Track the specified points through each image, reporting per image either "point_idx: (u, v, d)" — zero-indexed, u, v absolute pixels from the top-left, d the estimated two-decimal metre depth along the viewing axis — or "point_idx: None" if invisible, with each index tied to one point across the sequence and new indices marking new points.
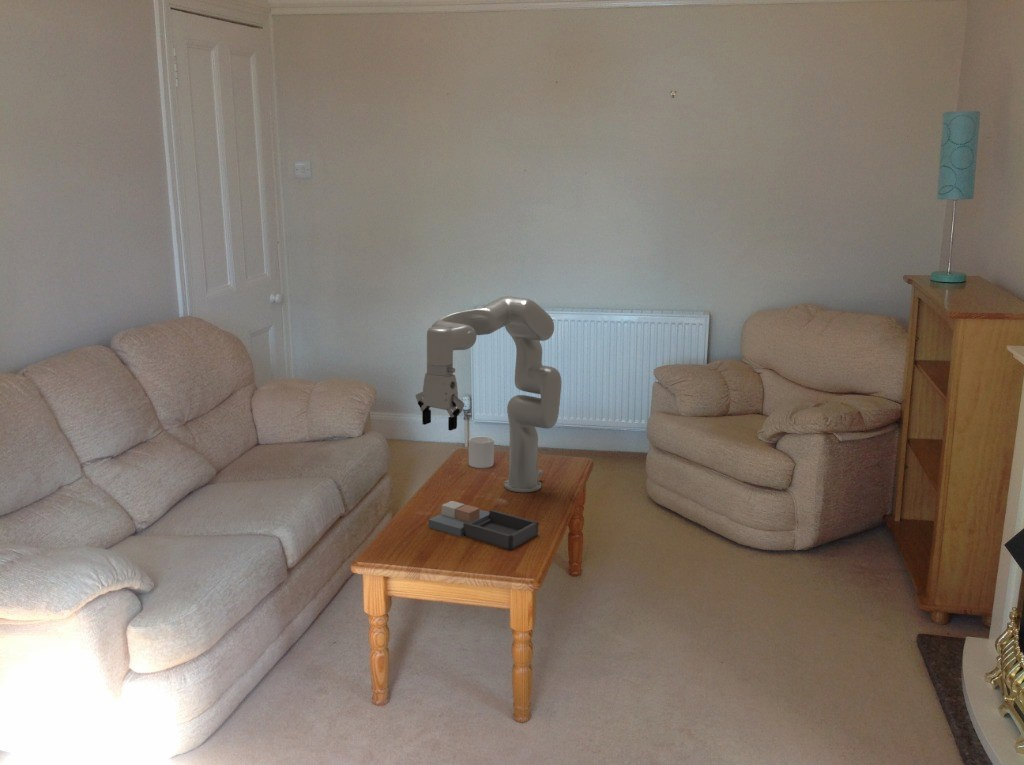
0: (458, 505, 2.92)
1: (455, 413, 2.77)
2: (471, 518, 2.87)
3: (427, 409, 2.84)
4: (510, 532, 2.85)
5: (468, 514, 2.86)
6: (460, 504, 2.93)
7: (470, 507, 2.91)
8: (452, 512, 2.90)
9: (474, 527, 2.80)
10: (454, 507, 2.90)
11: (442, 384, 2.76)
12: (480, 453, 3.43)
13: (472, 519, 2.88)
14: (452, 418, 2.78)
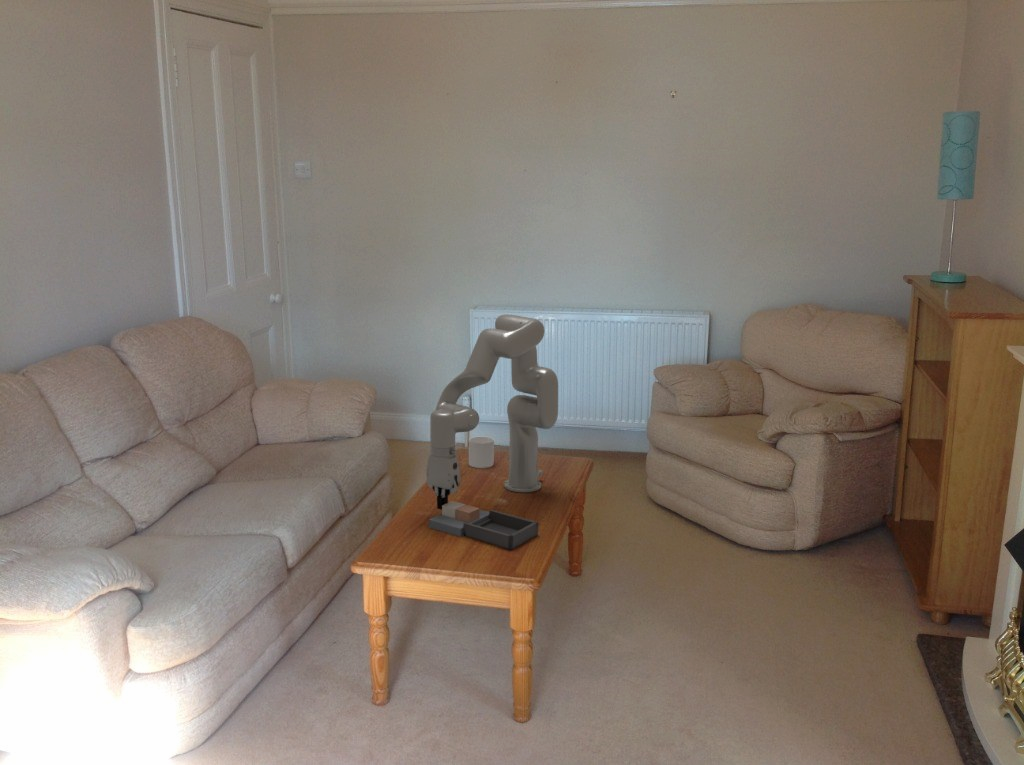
0: (459, 505, 2.92)
1: (446, 494, 2.92)
2: (471, 518, 2.87)
3: None
4: (510, 532, 2.85)
5: (468, 514, 2.86)
6: (461, 504, 2.92)
7: (470, 507, 2.91)
8: (453, 513, 2.89)
9: (474, 527, 2.80)
10: (455, 507, 2.90)
11: (445, 465, 2.88)
12: (480, 453, 3.43)
13: (472, 519, 2.88)
14: (443, 498, 2.93)
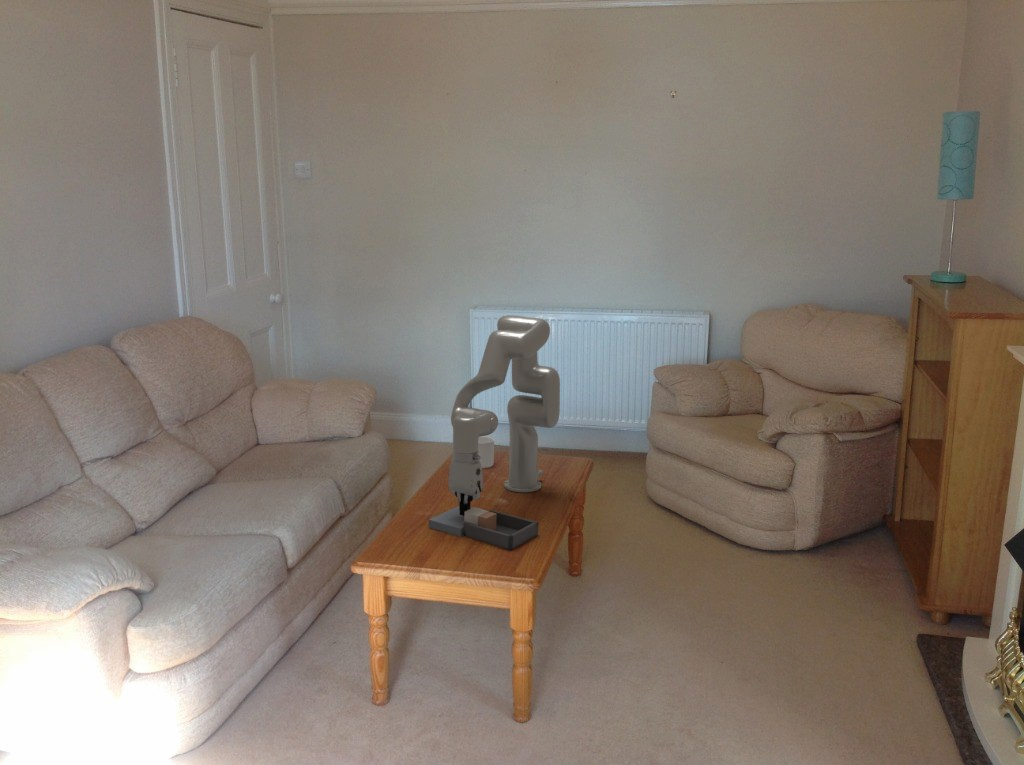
0: (481, 512, 2.87)
1: (469, 500, 2.87)
2: None
3: (464, 500, 2.90)
4: (510, 532, 2.85)
5: None
6: (483, 511, 2.88)
7: (494, 521, 2.86)
8: (475, 519, 2.85)
9: (474, 527, 2.80)
10: (477, 514, 2.85)
11: (468, 471, 2.83)
12: (480, 453, 3.43)
13: None
14: (466, 504, 2.88)
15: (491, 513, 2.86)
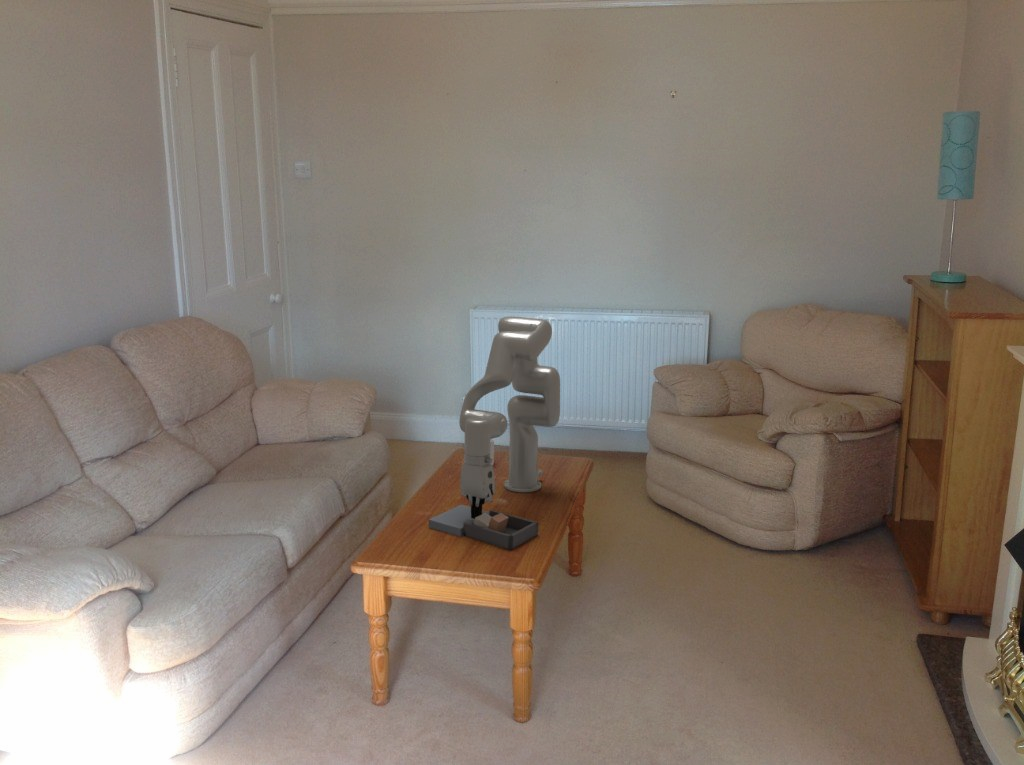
0: None
1: (480, 503, 2.85)
2: None
3: (476, 503, 2.87)
4: (510, 532, 2.85)
5: None
6: None
7: (505, 524, 2.84)
8: None
9: (474, 527, 2.80)
10: (488, 523, 2.83)
11: (480, 474, 2.81)
12: None
13: None
14: (477, 507, 2.86)
15: (503, 516, 2.84)
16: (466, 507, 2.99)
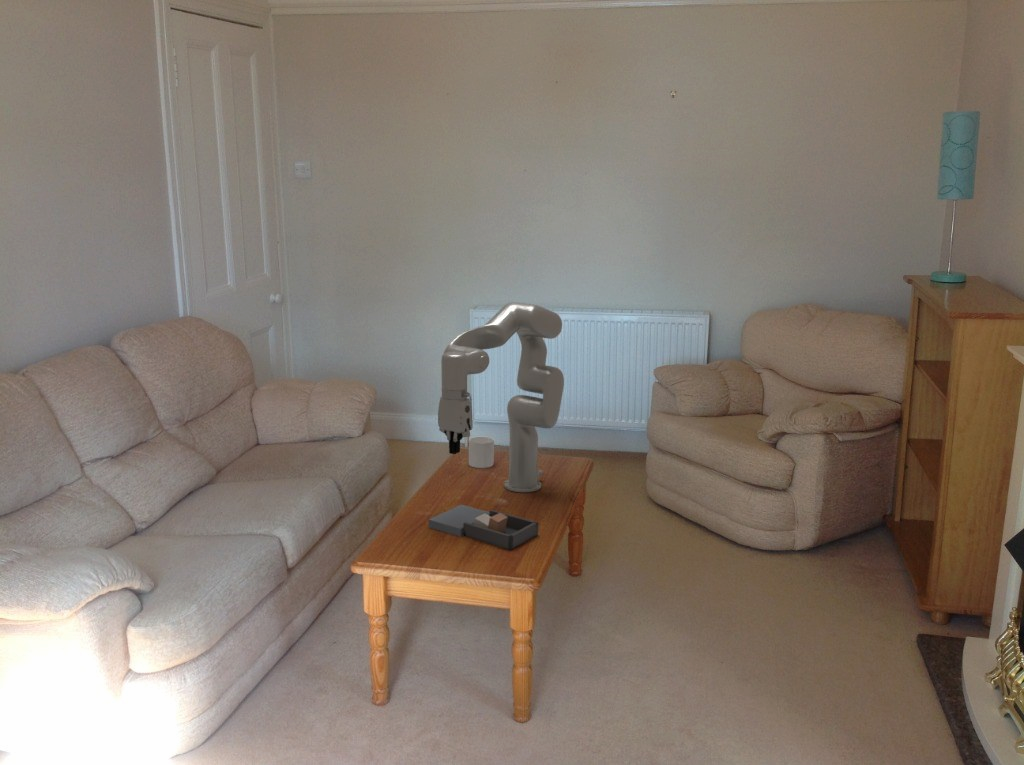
0: None
1: (458, 438, 2.86)
2: None
3: None
4: (510, 532, 2.85)
5: None
6: None
7: (504, 524, 2.84)
8: None
9: (474, 527, 2.80)
10: (487, 523, 2.83)
11: (457, 408, 2.82)
12: (480, 453, 3.43)
13: None
14: (455, 442, 2.87)
15: (502, 516, 2.84)
16: (466, 507, 2.99)
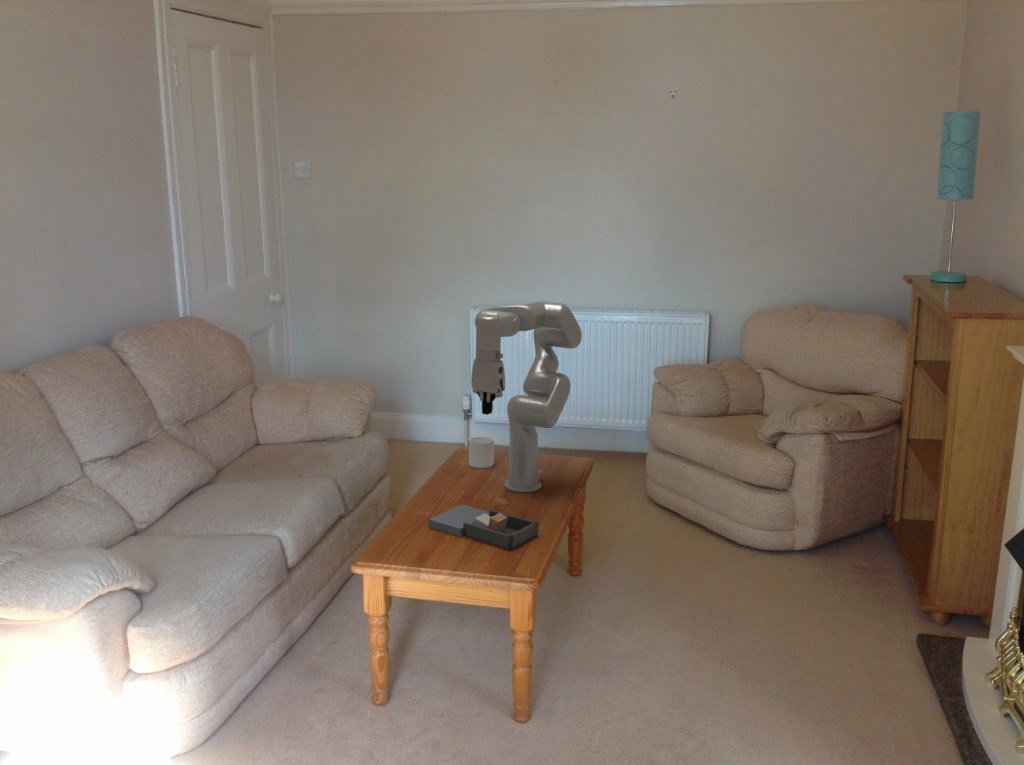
0: None
1: (491, 398, 2.95)
2: None
3: None
4: (510, 532, 2.85)
5: None
6: None
7: (504, 524, 2.84)
8: None
9: (474, 527, 2.80)
10: (487, 523, 2.83)
11: (491, 369, 2.91)
12: (480, 453, 3.43)
13: None
14: (488, 403, 2.96)
15: (502, 516, 2.84)
16: (466, 507, 2.99)
